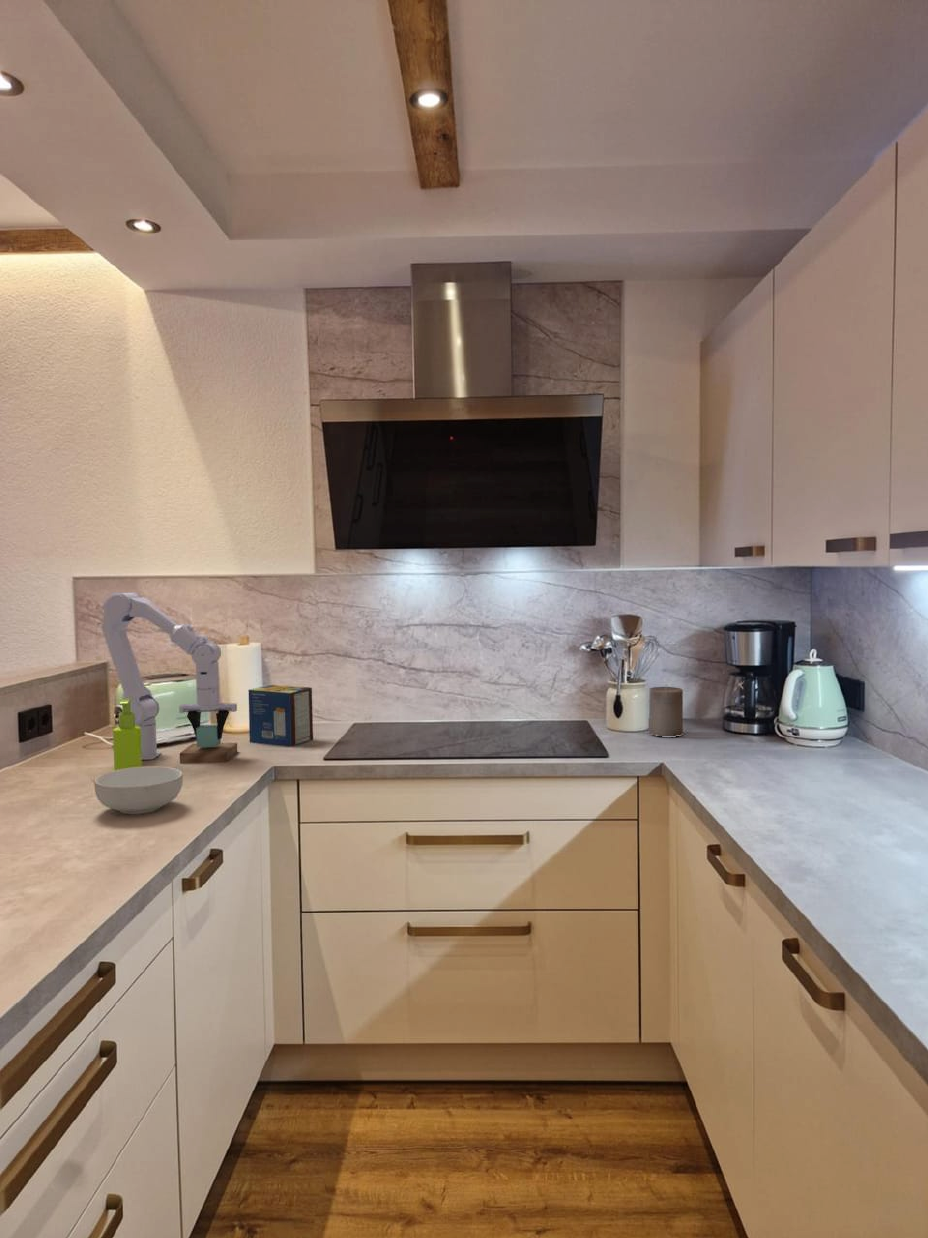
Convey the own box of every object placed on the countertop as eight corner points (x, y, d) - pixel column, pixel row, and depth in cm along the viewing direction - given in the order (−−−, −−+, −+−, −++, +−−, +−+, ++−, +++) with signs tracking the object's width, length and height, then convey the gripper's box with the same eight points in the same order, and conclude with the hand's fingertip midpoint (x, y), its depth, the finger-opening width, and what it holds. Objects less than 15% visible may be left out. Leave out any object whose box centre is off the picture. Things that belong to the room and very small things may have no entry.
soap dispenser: (112, 789, 181) (109, 701, 180) (116, 782, 188) (114, 697, 187) (140, 787, 183) (137, 700, 182) (143, 780, 189) (141, 696, 188)
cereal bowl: (88, 825, 156) (87, 789, 155) (101, 801, 172) (100, 769, 171) (181, 816, 160) (180, 782, 160) (185, 795, 176) (184, 763, 176)
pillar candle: (676, 731, 243) (676, 682, 242) (687, 737, 233) (687, 686, 232) (644, 732, 242) (644, 682, 241) (654, 738, 233) (654, 687, 232)
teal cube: (196, 747, 210) (196, 728, 210) (201, 743, 215) (201, 724, 214) (216, 746, 210) (215, 728, 210) (220, 742, 215) (220, 724, 215)
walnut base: (179, 764, 207) (179, 753, 207) (192, 754, 219) (192, 743, 219) (227, 763, 207) (226, 752, 207) (237, 753, 219) (237, 742, 219)
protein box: (272, 735, 241) (270, 684, 240) (313, 740, 234) (312, 687, 234) (248, 742, 232) (247, 689, 231) (291, 747, 225) (290, 692, 224)
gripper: (175, 690, 207) (176, 742, 208) (232, 689, 209) (233, 741, 209) (182, 686, 214) (184, 737, 215) (237, 685, 216) (239, 735, 216)
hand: (209, 738), depth 213 cm, fingers closed on teal cube, 5 cm apart
